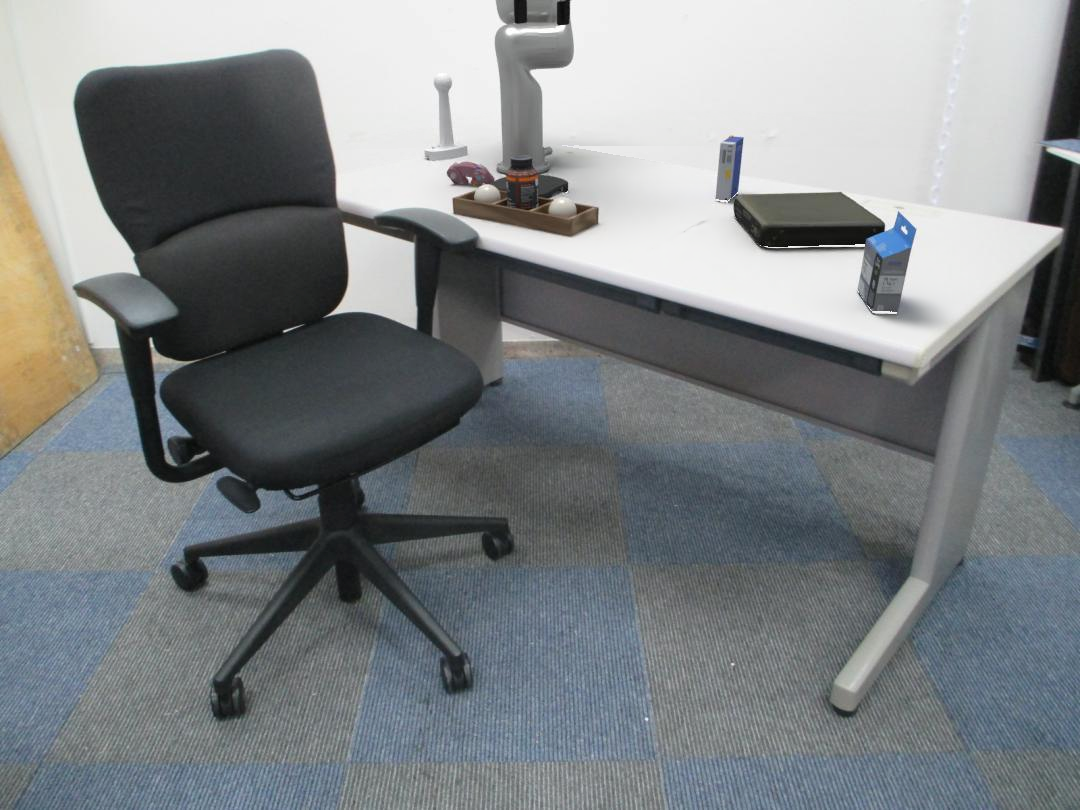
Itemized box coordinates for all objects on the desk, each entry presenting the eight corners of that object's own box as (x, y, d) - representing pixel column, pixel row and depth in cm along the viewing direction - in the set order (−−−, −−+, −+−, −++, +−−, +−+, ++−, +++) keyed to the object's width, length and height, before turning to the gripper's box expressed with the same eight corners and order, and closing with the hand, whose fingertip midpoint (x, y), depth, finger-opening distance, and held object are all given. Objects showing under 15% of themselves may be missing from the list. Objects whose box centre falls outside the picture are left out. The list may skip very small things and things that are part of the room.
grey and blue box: (855, 291, 123) (870, 210, 117) (882, 292, 122) (898, 210, 117) (870, 314, 115) (887, 228, 109) (899, 315, 115) (917, 229, 109)
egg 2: (558, 219, 155) (558, 192, 152) (581, 224, 152) (582, 196, 150) (542, 226, 151) (542, 198, 149) (566, 231, 148) (566, 202, 146)
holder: (484, 206, 167) (483, 187, 165) (598, 227, 153) (598, 207, 151) (453, 217, 160) (452, 197, 158) (569, 240, 146) (570, 219, 144)
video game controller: (450, 193, 182) (441, 168, 177) (457, 179, 185) (449, 154, 179) (490, 197, 179) (483, 171, 174) (497, 183, 182) (490, 157, 176)
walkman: (724, 192, 174) (730, 134, 168) (737, 194, 173) (744, 135, 167) (714, 201, 168) (719, 141, 162) (727, 203, 166) (733, 142, 161)
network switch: (895, 249, 141) (901, 220, 139) (767, 258, 138) (770, 229, 135) (831, 212, 161) (835, 186, 159) (717, 219, 158) (720, 193, 156)
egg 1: (485, 206, 164) (484, 180, 161) (506, 210, 161) (505, 183, 159) (469, 212, 160) (467, 185, 158) (490, 216, 157) (489, 189, 155)
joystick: (434, 161, 203) (427, 75, 194) (417, 156, 208) (410, 72, 199) (470, 155, 210) (466, 71, 200) (453, 150, 215) (448, 68, 205)
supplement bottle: (545, 217, 157) (544, 156, 151) (523, 223, 153) (522, 162, 147) (522, 211, 160) (521, 152, 155) (501, 218, 156) (498, 157, 151)
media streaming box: (517, 183, 184) (516, 170, 183) (574, 191, 178) (574, 177, 177) (481, 199, 173) (480, 184, 172) (541, 207, 167) (541, 192, 165)
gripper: (489, -81, 148) (493, 24, 156) (569, -84, 139) (569, 27, 147) (514, -80, 153) (516, 21, 161) (593, -83, 144) (591, 24, 152)
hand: (541, 24), depth 154 cm, fingers open, 9 cm apart
